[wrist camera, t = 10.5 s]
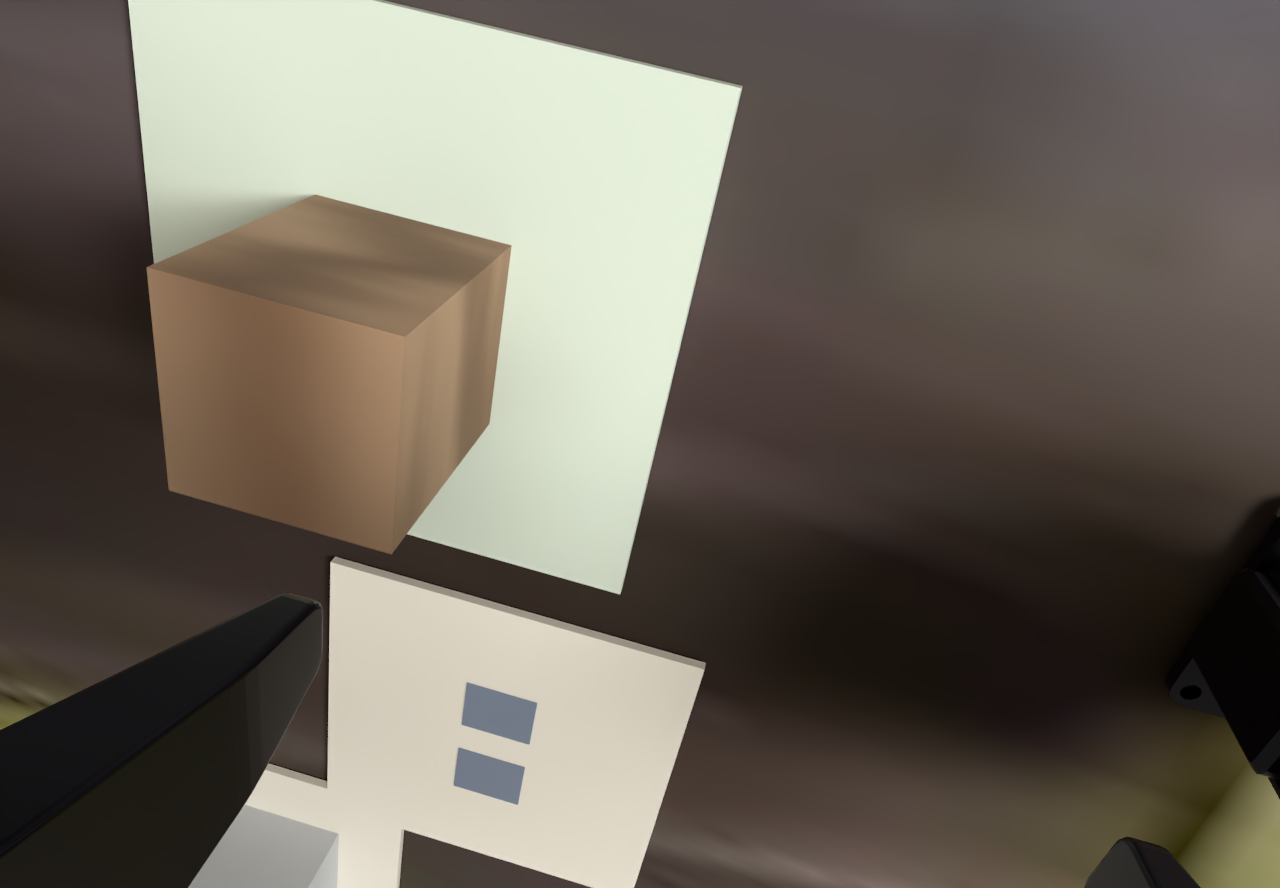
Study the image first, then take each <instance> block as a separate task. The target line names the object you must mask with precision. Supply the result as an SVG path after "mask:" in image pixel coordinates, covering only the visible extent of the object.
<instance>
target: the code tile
mask: <svg viewBox="0 0 1280 888" xmlns="http://www.w3.org/2000/svg"><path fill="white" fill-rule="evenodd" d="M705 665H706V663H705V662H701V661H698V660H694V659H691V658H687V657H684V656H680V655H677V654H673V653H670V652H666V651H663V650H659V649H656V648H652V647H649V646H645V645H642V644H638V643H635V642H631V641H628V640H625V639H621V638H618V637H614V636H611V635H607V634H604V633H600V632H597V631H593V630H590V629H586V628H583V627H579V626H576V625H572V624H569V623H565V622H562V621H558V620H555V619H551V618H548V617H544V616H541V615H537V614H534V613H530V612H527V611H523V610H520V609H516V608H513V607H510V606H506V605H503V604H499V603H496V602H492V601H489V600H485V599H482V598H478V597H475V596H471V595H468V594H464V593H461V592H457V591H454V590H450V589H447V588H443V587H440V586H436V585H433V584H429V583H426V582H422V581H419V580H415V579H412V578H408V577H405V576H401V575H398V574H394V573H391V572H388V571H384V570H381V569H377V568H374V567H370V566H367V565H363V564H360V563H356V562H353V561H349V560H346V559H342V558H339V557H334V558H333V560H332V561H331V562H330V628H329V702H328V775H327V789H329V790H332V791H336V792H339V793H342V794H345V795H349V796H352V797H355V798H358V799H362V800H365V801H368V802H371V803H375V804H378V805H381V806H384V807H388V808H391V809H394V810H397V811H401V812H403V816H402V828H401V829H404V830H407V831H411V832H414V833H417V834H420V835H423V836H427V837H430V838H433V839H436V840H440V841H443V842H446V843H449V844H453V845H456V846H459V847H462V848H466V849H469V850H472V851H475V852H479V853H482V854H485V855H488V856H492V857H495V858H498V859H501V860H505V861H508V862H511V863H514V864H518V865H521V866H524V867H527V868H531V869H534V870H537V871H540V872H544V873H547V874H550V875H553V876H556V877H560V878H563V879H566V880H569V881H573V882H576V883H579V884H582V885H586V886H589V887H592V888H634V886H635V883H636V880H637V877H638V874H639V871H640V868H641V865H642V862H643V859H644V855H645V852H646V849H647V846H648V843H649V840H650V837H651V834H652V831H653V828H654V825H655V821H656V818H657V815H658V812H659V809H660V806H661V803H662V800H663V797H664V794H665V791H666V787H667V784H668V781H669V778H670V775H671V772H672V769H673V766H674V763H675V760H676V757H677V753H678V750H679V747H680V744H681V741H682V738H683V735H684V732H685V729H686V726H687V723H688V719H689V716H690V713H691V710H692V707H693V704H694V701H695V698H696V695H697V692H698V689H699V685H700V682H701V679H702V676H703V673H704V670H705Z"/></svg>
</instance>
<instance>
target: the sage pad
mask: <svg viewBox="0 0 1280 888" xmlns="http://www.w3.org/2000/svg"><path fill="white" fill-rule="evenodd" d="M128 4H129V14H130V24H131V35H132V45H133V55H134V65H135V75H136V86H137V96H138V106H139V116H140V126H141V137H142V147H143V157H144V167H145V177H146V188H147V198H148V208H149V218H150V229H151V239H152V249H153V259H154V264H155V263H158V262H160V261H162V260H164V259H167V258H169V257H171V256H174V255H176V254H178V253H181V252H183V251H185V250H188V249H190V248H192V247H195V246H197V245H199V244H202V243H204V242H206V241H209V240H211V239H213V238H216V237H218V236H220V235H222V234H225V233H227V232H229V231H232V230H234V229H236V228H239V227H241V226H243V225H246V224H248V223H250V222H253V221H255V220H257V219H260V218H262V217H264V216H267V215H269V214H271V213H274V212H276V211H278V210H281V209H283V208H285V207H287V206H290V205H292V204H294V203H297V202H299V201H301V200H304V199H306V198H308V197H311V196H313V195H315V194H316V195H319V196H323V197H327V198H331V199H335V200H339V201H343V202H346V203H350V204H354V205H358V206H362V207H366V208H370V209H373V210H377V211H381V212H385V213H389V214H393V215H397V216H400V217H404V218H408V219H412V220H416V221H420V222H424V223H427V224H431V225H435V226H439V227H443V228H447V229H451V230H454V231H458V232H462V233H466V234H470V235H474V236H478V237H481V238H485V239H489V240H493V241H497V242H501V243H505V244H508V245H512V247H511V255H510V263H509V271H508V279H507V287H506V295H505V303H504V311H503V319H502V327H501V335H500V343H499V351H498V359H497V367H496V375H495V383H494V391H493V399H492V407H491V415H490V423H489V425H488V427H487V428H486V429H485V431H484V432H483V433H482V435H481V436H480V437H479V439H478V440H477V441H476V443H475V444H474V445H473V447H472V448H471V449H470V451H469V452H468V453H467V455H466V456H465V457H464V458H463V460H462V461H461V462H460V464H459V465H458V466H457V468H456V469H455V470H454V472H453V473H452V474H451V476H450V477H449V478H448V480H447V481H446V482H445V484H444V485H443V486H442V488H441V489H440V490H439V492H438V493H437V494H436V496H435V497H434V498H433V500H432V501H431V502H430V504H429V505H428V506H427V508H426V509H425V510H424V512H423V513H422V514H421V516H420V517H419V518H418V520H417V521H416V522H415V524H414V525H413V526H412V528H411V529H410V530H409V532H408V533H407V534H408V535H412V536H415V537H419V538H422V539H426V540H429V541H433V542H436V543H440V544H444V545H447V546H451V547H454V548H458V549H461V550H465V551H468V552H472V553H475V554H479V555H482V556H486V557H489V558H493V559H496V560H500V561H504V562H507V563H511V564H514V565H518V566H521V567H525V568H528V569H532V570H535V571H539V572H542V573H546V574H549V575H553V576H556V577H560V578H564V579H567V580H571V581H574V582H578V583H581V584H585V585H588V586H592V587H595V588H599V589H602V590H606V591H609V592H613V593H616V594H620V593H621V590H622V587H623V583H624V579H625V575H626V571H627V567H628V563H629V558H630V554H631V550H632V546H633V542H634V538H635V533H636V529H637V525H638V521H639V517H640V512H641V508H642V504H643V500H644V496H645V492H646V487H647V483H648V479H649V475H650V471H651V467H652V462H653V458H654V454H655V450H656V446H657V442H658V437H659V433H660V429H661V425H662V421H663V417H664V412H665V408H666V404H667V400H668V396H669V391H670V387H671V383H672V379H673V375H674V371H675V366H676V362H677V358H678V354H679V350H680V346H681V341H682V337H683V333H684V329H685V325H686V321H687V316H688V312H689V308H690V304H691V300H692V295H693V291H694V287H695V283H696V279H697V275H698V270H699V266H700V262H701V258H702V254H703V250H704V245H705V241H706V237H707V233H708V229H709V225H710V220H711V216H712V212H713V208H714V204H715V200H716V195H717V191H718V187H719V183H720V179H721V174H722V170H723V166H724V162H725V158H726V154H727V149H728V145H729V141H730V137H731V133H732V129H733V124H734V120H735V116H736V112H737V108H738V104H739V99H740V95H741V91H742V87H743V86H740V85H736V84H732V83H728V82H724V81H719V80H715V79H711V78H707V77H703V76H698V75H694V74H690V73H686V72H682V71H678V70H673V69H669V68H665V67H661V66H657V65H652V64H648V63H644V62H640V61H636V60H631V59H627V58H623V57H619V56H615V55H611V54H606V53H602V52H598V51H594V50H590V49H585V48H581V47H577V46H573V45H569V44H564V43H560V42H556V41H552V40H548V39H543V38H539V37H535V36H531V35H527V34H523V33H518V32H514V31H510V30H506V29H502V28H497V27H493V26H489V25H485V24H481V23H476V22H472V21H468V20H464V19H460V18H456V17H451V16H447V15H443V14H439V13H435V12H430V11H426V10H422V9H418V8H414V7H409V6H405V5H401V4H397V3H393V2H388V1H384V0H128Z"/></svg>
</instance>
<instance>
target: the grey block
mask: <svg viewBox="0 0 1280 888" xmlns="http://www.w3.org/2000/svg"><path fill="white" fill-rule="evenodd" d="M338 846H339V834H338V833H335V832H331V831H328V830H325V829H322V828H319V827H315V826H312V825H309V824H306V823H302V822H299V821H296V820H293V819H290V818H286V817H283V816H280V815H277V814H273V813H270V812H267V811H264V810H261V809H257V808H254V807H251V806H248V805H244V806H243V808H242V809H241V811H240V812H239V814H238V815H237V817H236V818H235V820H234V821H233V823H232V824H231V826H230V827H229V829H228V830H227V831H226V833H225V834H224V836H223V837H222V839H221V840H220V842H219V843H218V845H217V846H216V848H215V849H214V851H213V852H212V853H211V855H210V856H209V858H208V859H207V861H206V862H205V864H204V865H203V867H202V868H201V870H200V871H199V873H198V874H197V875H196V877H195V878H194V880H193V881H192V883H191V884H190V886H189V887H188V888H337V885H338Z"/></svg>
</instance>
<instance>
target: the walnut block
mask: <svg viewBox="0 0 1280 888" xmlns="http://www.w3.org/2000/svg"><path fill="white" fill-rule="evenodd" d="M511 247H512V245H508V244H505V243H501V242H497V241H493V240H489V239H485V238H481V237H478V236H474V235H470V234H466V233H462V232H458V231H454V230H451V229H447V228H443V227H439V226H435V225H431V224H427V223H424V222H420V221H416V220H412V219H408V218H404V217H400V216H397V215H393V214H389V213H385V212H381V211H377V210H373V209H370V208H366V207H362V206H358V205H354V204H350V203H346V202H343V201H339V200H335V199H331V198H327V197H323V196H319V195H316V194H315V195H313V196H311V197H308V198H306V199H304V200H301V201H299V202H297V203H294V204H292V205H290V206H287V207H285V208H283V209H281V210H278V211H276V212H274V213H271V214H269V215H267V216H264V217H262V218H260V219H257V220H255V221H253V222H250V223H248V224H246V225H243V226H241V227H239V228H236V229H234V230H232V231H229V232H227V233H225V234H222V235H220V236H218V237H216V238H213V239H211V240H209V241H206V242H204V243H202V244H199V245H197V246H195V247H192V248H190V249H188V250H185V251H183V252H181V253H178V254H176V255H174V256H171V257H169V258H167V259H164V260H162V261H160V262H158V263H155V264H153V265H151V266H148V267H147V277H148V287H149V297H150V307H151V317H152V327H153V337H154V347H155V357H156V367H157V377H158V387H159V397H160V407H161V417H162V427H163V437H164V447H165V457H166V467H167V477H168V487H169V491H173V492H176V493H180V494H183V495H187V496H190V497H194V498H197V499H201V500H204V501H208V502H211V503H215V504H218V505H222V506H225V507H229V508H232V509H236V510H239V511H242V512H246V513H249V514H253V515H256V516H260V517H263V518H267V519H270V520H274V521H277V522H281V523H284V524H288V525H291V526H295V527H298V528H302V529H305V530H309V531H312V532H316V533H319V534H322V535H326V536H329V537H333V538H336V539H340V540H343V541H347V542H350V543H354V544H357V545H361V546H364V547H368V548H371V549H375V550H378V551H382V552H385V553H389V554H392V553H393V552H394V550H395V549H396V548H397V546H398V545H399V544H400V542H401V541H402V540H403V538H404V537H405V536H406V534H407V533H408V532H409V530H410V529H411V528H412V526H413V525H414V524H415V522H416V521H417V520H418V518H419V517H420V516H421V514H422V513H423V512H424V510H425V509H426V508H427V506H428V505H429V504H430V502H431V501H432V500H433V498H434V497H435V496H436V494H437V493H438V492H439V490H440V489H441V488H442V486H443V485H444V484H445V482H446V481H447V480H448V478H449V477H450V476H451V474H452V473H453V472H454V470H455V469H456V468H457V466H458V465H459V464H460V462H461V461H462V460H463V458H464V457H465V456H466V455H467V453H468V452H469V451H470V449H471V448H472V447H473V445H474V444H475V443H476V441H477V440H478V439H479V437H480V436H481V435H482V433H483V432H484V431H485V429H486V428H487V427H488V425H489V423H490V415H491V407H492V399H493V391H494V383H495V375H496V367H497V359H498V351H499V343H500V335H501V327H502V319H503V311H504V303H505V295H506V287H507V279H508V271H509V263H510V255H511Z"/></svg>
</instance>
